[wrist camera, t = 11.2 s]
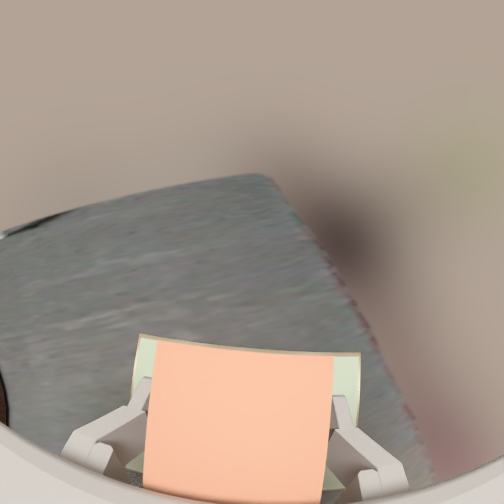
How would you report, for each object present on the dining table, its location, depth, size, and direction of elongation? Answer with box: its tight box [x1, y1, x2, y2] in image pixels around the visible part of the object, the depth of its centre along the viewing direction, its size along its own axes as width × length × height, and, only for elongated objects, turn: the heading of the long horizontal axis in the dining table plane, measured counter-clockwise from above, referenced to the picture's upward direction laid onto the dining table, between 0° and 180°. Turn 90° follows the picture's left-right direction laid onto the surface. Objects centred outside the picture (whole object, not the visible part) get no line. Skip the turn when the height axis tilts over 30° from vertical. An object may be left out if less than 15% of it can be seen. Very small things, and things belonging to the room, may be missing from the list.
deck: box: [124, 334, 361, 492], centre depth 20 cm, size 12×18×4 cm, turn 85°
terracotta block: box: [143, 340, 334, 504], centre depth 9 cm, size 4×4×9 cm
